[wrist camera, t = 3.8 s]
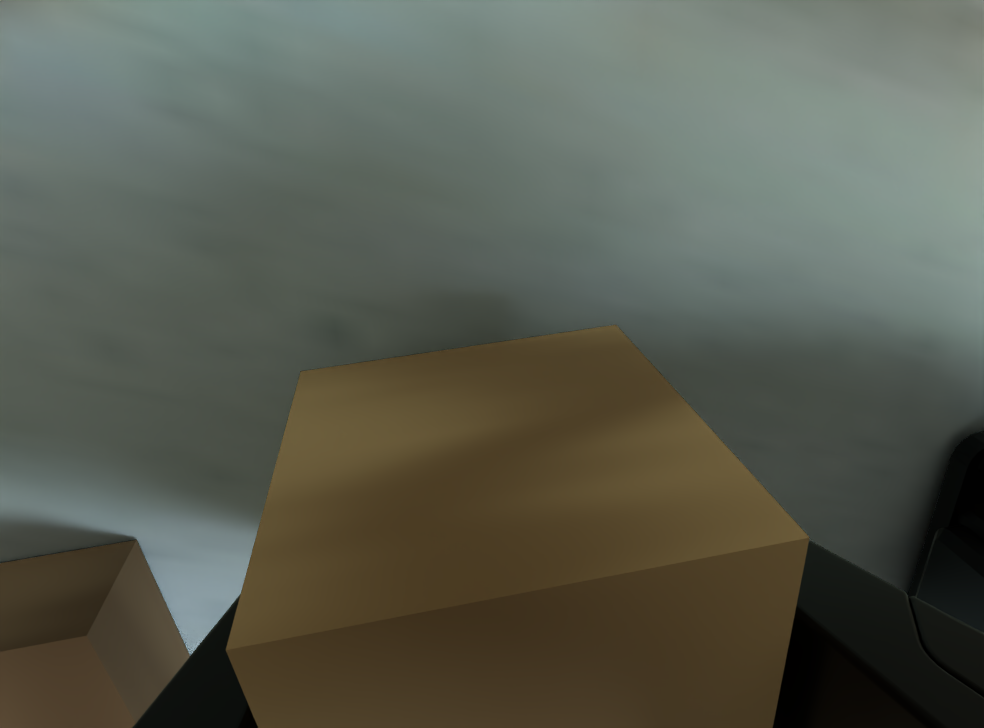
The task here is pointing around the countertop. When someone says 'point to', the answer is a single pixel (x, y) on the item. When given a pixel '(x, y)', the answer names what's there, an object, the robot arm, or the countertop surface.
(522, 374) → the block
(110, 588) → the base
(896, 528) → the countertop surface
